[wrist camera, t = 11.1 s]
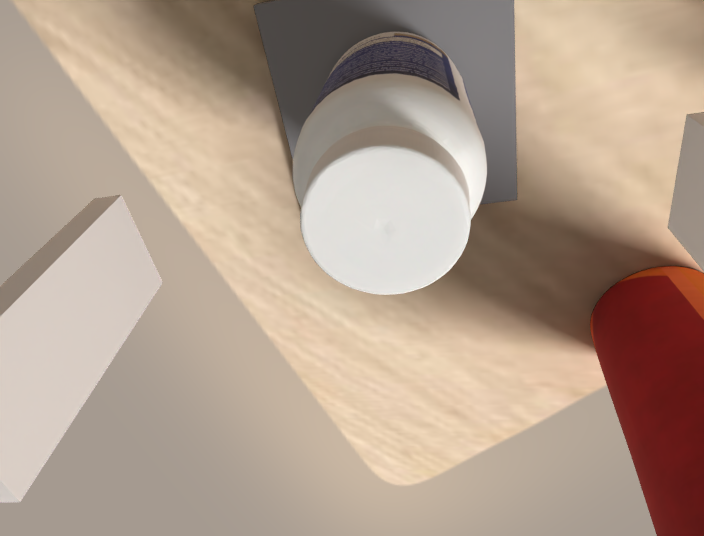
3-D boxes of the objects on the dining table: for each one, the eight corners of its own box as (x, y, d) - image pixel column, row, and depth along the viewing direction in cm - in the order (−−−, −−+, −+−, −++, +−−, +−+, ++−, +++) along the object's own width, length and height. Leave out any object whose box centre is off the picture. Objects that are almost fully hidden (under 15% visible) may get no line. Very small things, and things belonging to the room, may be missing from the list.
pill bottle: (296, 94, 20) (221, 210, 12) (407, -6, 18) (404, 55, 10) (382, 194, 22) (368, 350, 14) (492, 115, 20) (548, 247, 12)
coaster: (257, 3, 19) (253, 5, 19) (510, -48, 18) (513, -47, 17) (311, 218, 24) (309, 225, 23) (514, 193, 22) (517, 199, 22)
